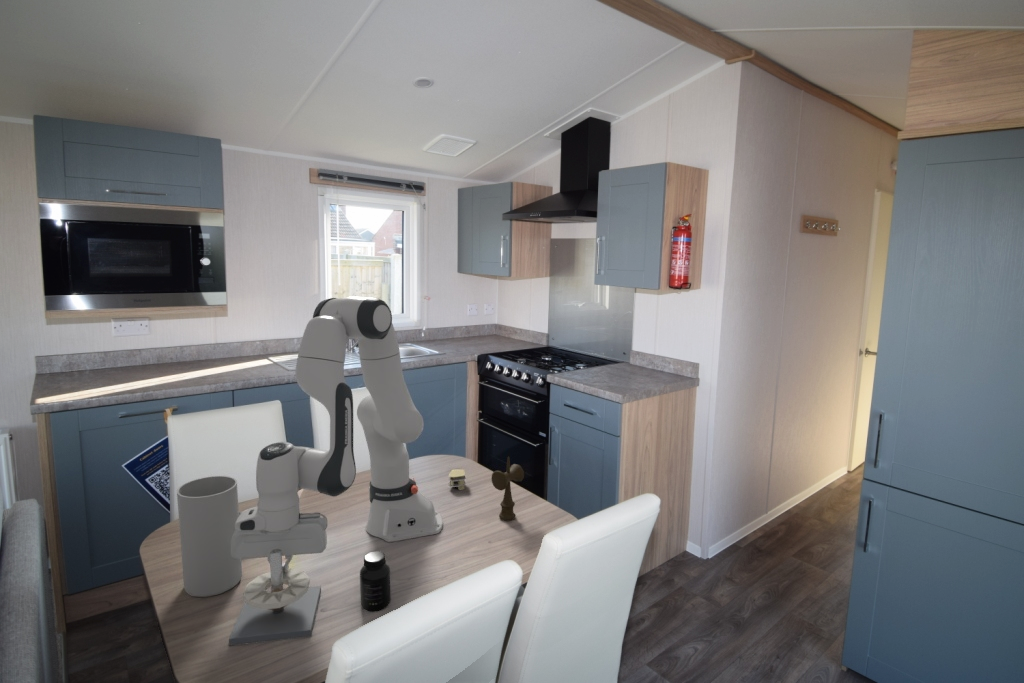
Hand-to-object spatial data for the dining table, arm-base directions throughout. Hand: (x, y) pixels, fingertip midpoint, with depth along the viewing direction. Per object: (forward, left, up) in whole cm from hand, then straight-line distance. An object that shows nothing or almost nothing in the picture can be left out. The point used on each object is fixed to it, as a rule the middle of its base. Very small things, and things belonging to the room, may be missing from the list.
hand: (281, 571), depth 126 cm
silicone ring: (0, +5, -1) cm, 6 cm away
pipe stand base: (0, +5, -8) cm, 9 cm away
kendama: (-60, -32, -8) cm, 68 cm away
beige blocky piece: (-47, -58, -8) cm, 75 cm away
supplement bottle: (-21, +4, -8) cm, 23 cm away
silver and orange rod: (0, +5, -6) cm, 8 cm away
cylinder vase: (+18, -11, -8) cm, 22 cm away
